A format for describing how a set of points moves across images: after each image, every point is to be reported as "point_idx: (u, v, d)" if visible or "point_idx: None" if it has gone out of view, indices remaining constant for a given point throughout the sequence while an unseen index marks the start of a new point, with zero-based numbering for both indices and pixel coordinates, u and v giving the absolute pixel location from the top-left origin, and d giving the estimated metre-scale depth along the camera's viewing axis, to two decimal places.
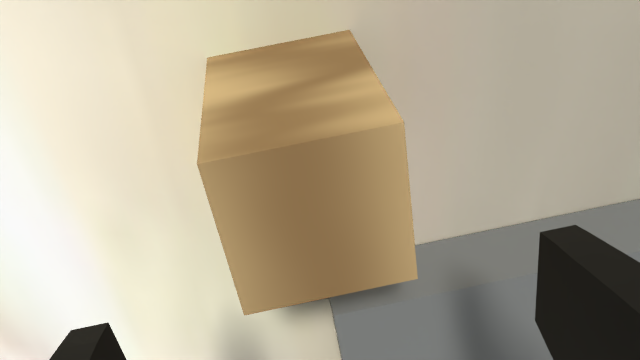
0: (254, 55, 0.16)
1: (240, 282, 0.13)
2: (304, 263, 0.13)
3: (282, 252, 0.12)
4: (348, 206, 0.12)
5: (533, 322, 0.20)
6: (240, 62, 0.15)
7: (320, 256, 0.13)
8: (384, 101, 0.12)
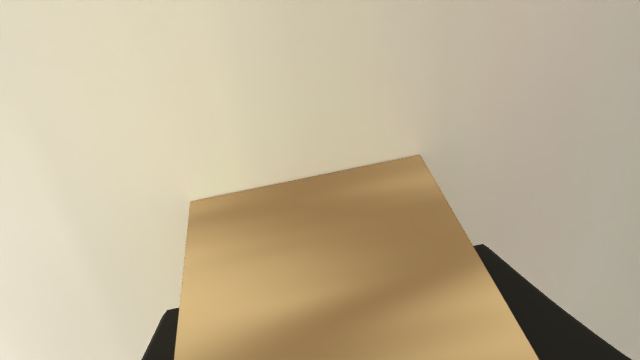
0: (268, 205, 0.09)
1: None
2: None
3: None
4: None
5: None
6: (244, 221, 0.09)
7: None
8: None
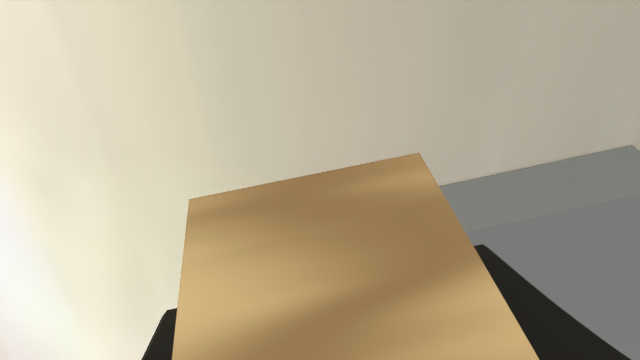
0: (266, 203, 0.09)
1: None
2: None
3: None
4: None
5: None
6: (243, 219, 0.09)
7: None
8: None
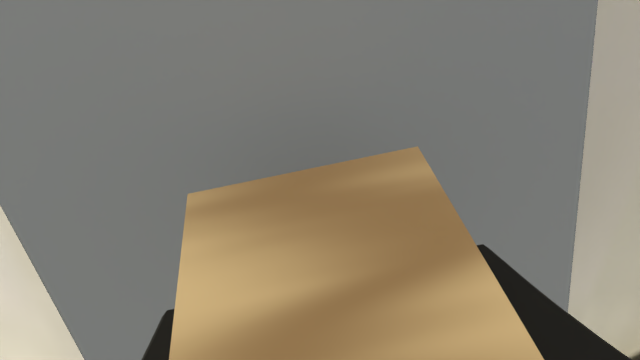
0: (265, 197, 0.09)
1: None
2: None
3: None
4: None
5: (307, 37, 0.11)
6: (241, 212, 0.09)
7: None
8: None
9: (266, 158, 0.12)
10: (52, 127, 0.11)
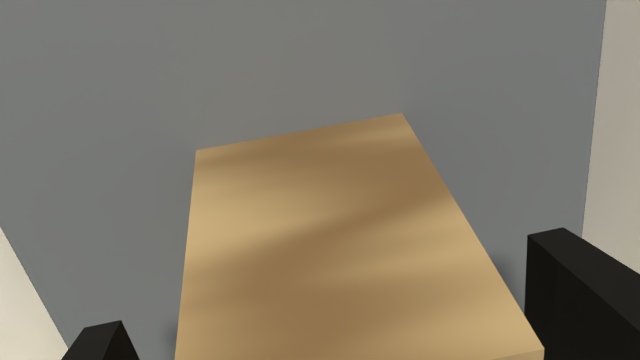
0: (266, 153, 0.11)
1: None
2: None
3: None
4: None
5: (308, 43, 0.10)
6: (244, 165, 0.10)
7: None
8: (493, 284, 0.07)
9: None
10: (47, 136, 0.11)
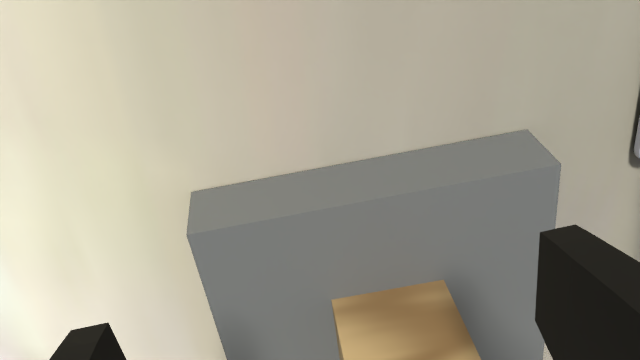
0: (371, 305, 0.20)
1: None
2: None
3: None
4: None
5: (396, 250, 0.20)
6: (361, 313, 0.20)
7: None
8: None
9: None
10: (255, 295, 0.20)
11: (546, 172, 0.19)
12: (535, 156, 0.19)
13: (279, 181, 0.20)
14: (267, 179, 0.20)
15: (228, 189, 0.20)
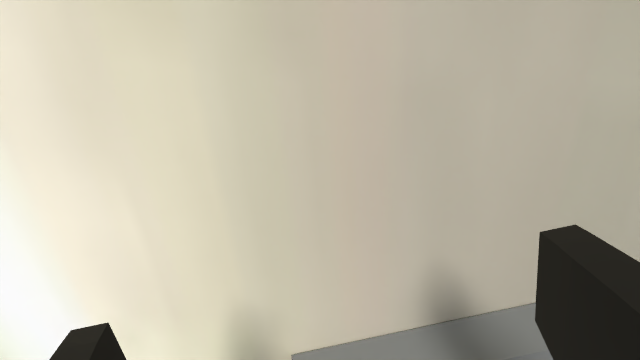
0: None
1: None
2: None
3: None
4: None
5: None
6: None
7: None
8: None
9: None
10: None
11: None
12: None
13: (364, 346, 0.25)
14: (352, 343, 0.25)
15: (322, 353, 0.25)
